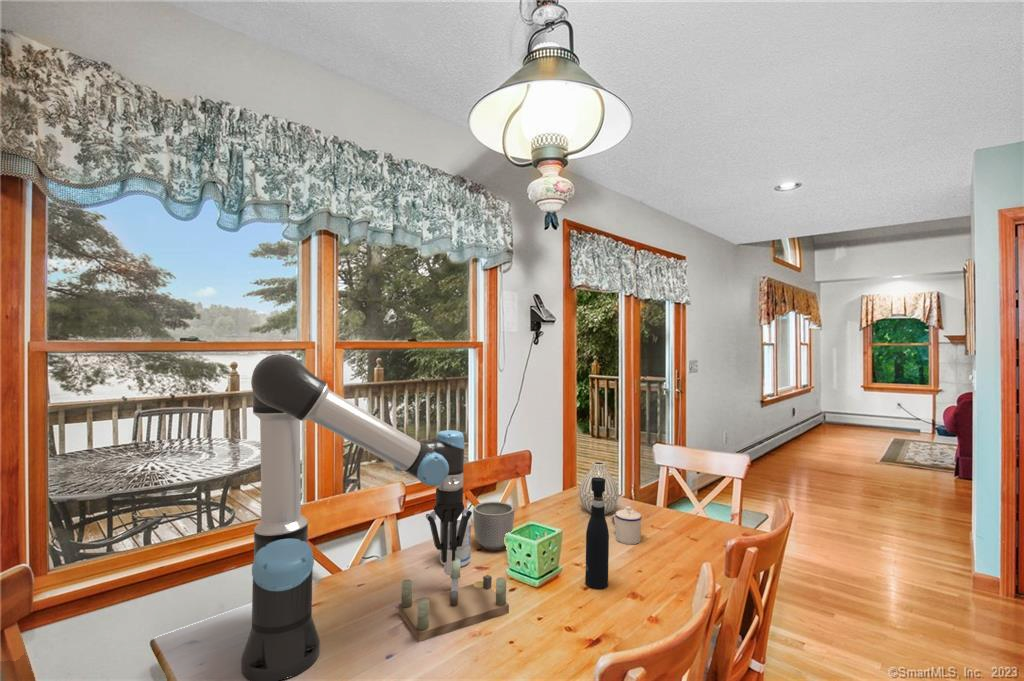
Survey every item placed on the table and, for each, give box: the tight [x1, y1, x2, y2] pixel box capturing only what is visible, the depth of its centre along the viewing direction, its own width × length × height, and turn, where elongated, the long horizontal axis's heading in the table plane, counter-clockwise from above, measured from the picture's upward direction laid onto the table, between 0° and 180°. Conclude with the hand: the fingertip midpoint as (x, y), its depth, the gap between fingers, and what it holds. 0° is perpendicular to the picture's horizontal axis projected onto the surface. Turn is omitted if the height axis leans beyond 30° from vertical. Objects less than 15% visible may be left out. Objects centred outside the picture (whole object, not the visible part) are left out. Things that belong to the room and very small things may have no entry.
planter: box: [472, 501, 515, 552], centre depth 164 cm, size 14×14×13 cm
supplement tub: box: [439, 513, 472, 568], centre depth 152 cm, size 10×10×15 cm
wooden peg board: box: [398, 574, 510, 642], centre depth 123 cm, size 24×14×8 cm, turn 122°
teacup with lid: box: [610, 505, 643, 545], centre depth 172 cm, size 12×9×12 cm
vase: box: [578, 460, 619, 516], centre depth 200 cm, size 16×16×20 cm
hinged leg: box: [449, 558, 461, 592], centre depth 130 cm, size 12×3×6 cm, turn 6°
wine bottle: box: [584, 477, 610, 590], centre depth 139 cm, size 6×6×30 cm
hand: (447, 572), depth 135 cm, fingers closed
